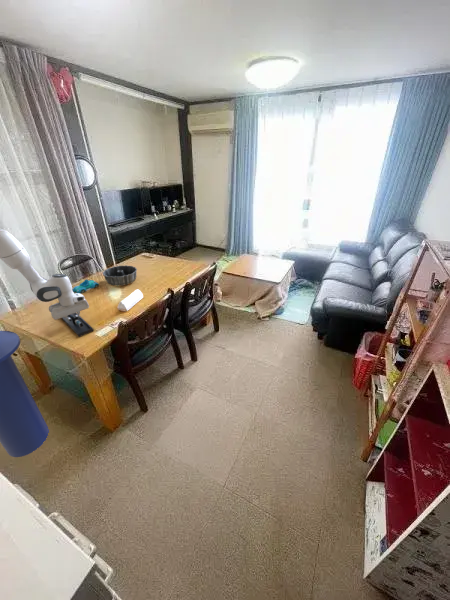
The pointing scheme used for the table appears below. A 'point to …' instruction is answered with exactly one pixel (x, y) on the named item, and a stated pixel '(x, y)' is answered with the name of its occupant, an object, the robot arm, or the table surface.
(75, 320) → the knife
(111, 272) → the bundt pan
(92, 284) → the toy car
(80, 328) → the knife tray
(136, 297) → the white triangular prism
